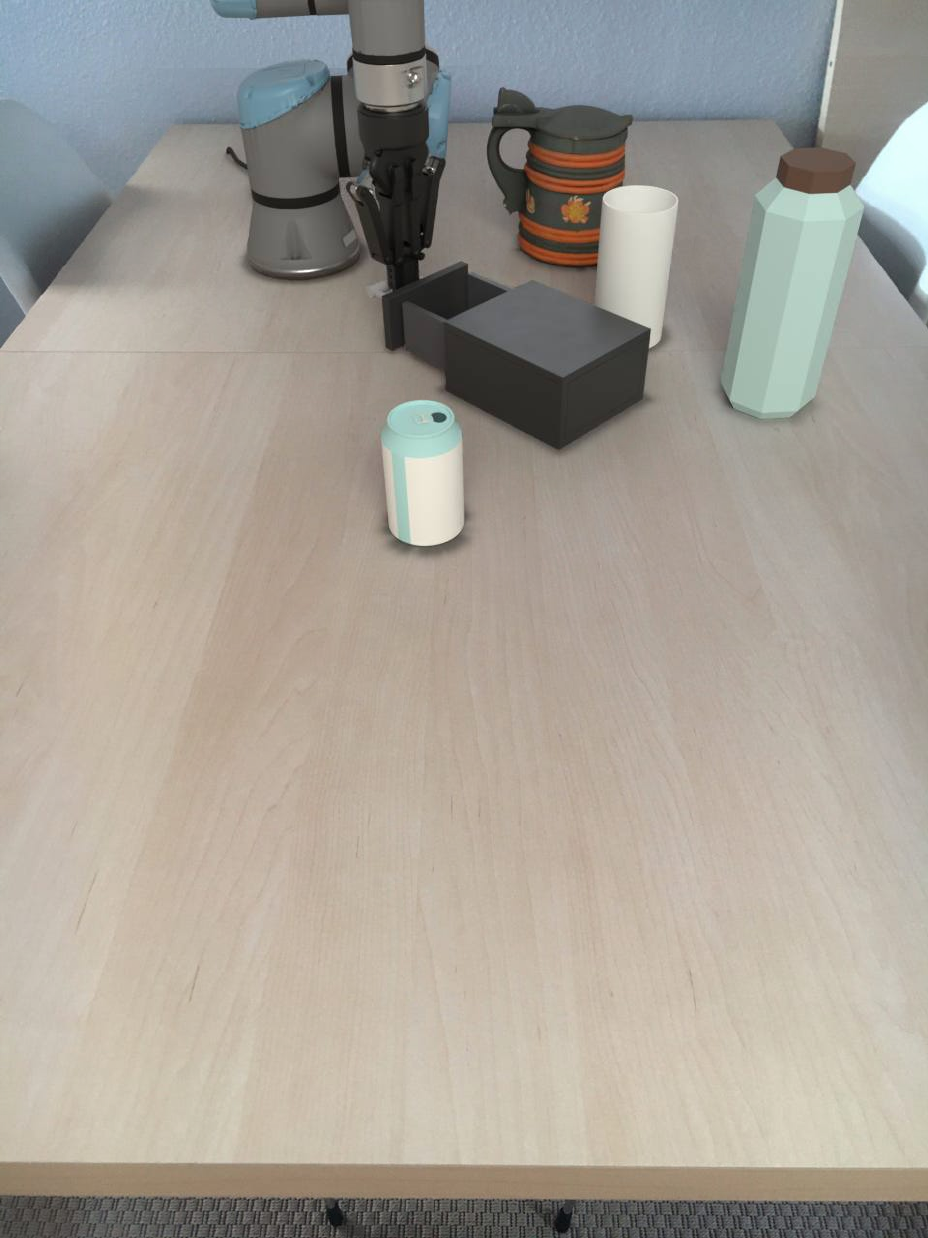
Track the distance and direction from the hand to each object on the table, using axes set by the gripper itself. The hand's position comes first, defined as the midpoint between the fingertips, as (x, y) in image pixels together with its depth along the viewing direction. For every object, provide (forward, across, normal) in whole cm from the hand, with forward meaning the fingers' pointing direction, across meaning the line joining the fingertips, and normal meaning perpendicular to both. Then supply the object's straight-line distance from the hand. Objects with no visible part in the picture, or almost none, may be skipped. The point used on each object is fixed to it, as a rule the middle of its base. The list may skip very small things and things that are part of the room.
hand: (405, 311), depth 120 cm
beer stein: (+2, +30, +2) cm, 30 cm away
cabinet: (+2, 0, -23) cm, 23 cm away
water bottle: (+2, +16, -41) cm, 44 cm away
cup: (+2, +17, -21) cm, 27 cm away
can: (+2, -25, -31) cm, 40 cm away
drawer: (+1, 0, -8) cm, 8 cm away
